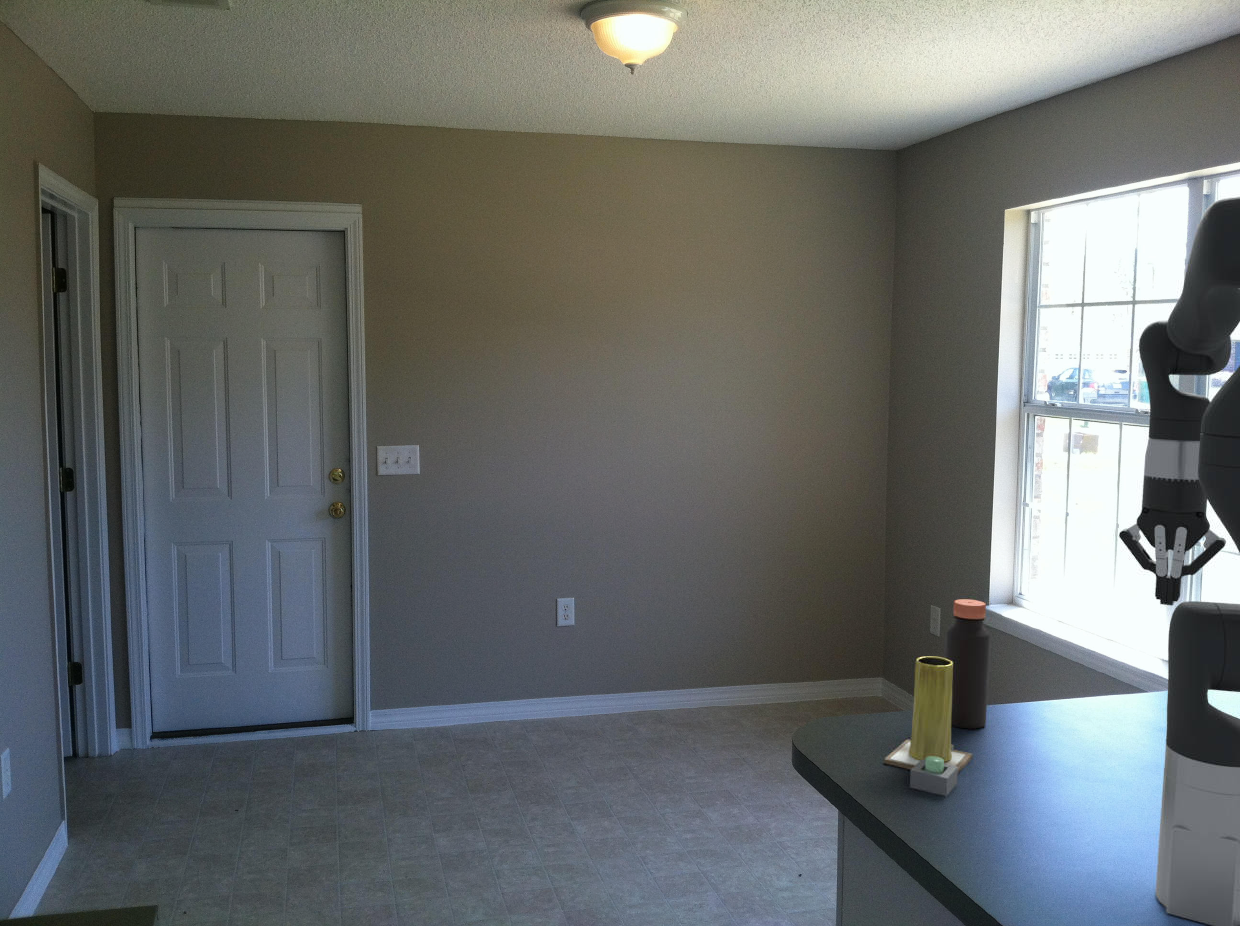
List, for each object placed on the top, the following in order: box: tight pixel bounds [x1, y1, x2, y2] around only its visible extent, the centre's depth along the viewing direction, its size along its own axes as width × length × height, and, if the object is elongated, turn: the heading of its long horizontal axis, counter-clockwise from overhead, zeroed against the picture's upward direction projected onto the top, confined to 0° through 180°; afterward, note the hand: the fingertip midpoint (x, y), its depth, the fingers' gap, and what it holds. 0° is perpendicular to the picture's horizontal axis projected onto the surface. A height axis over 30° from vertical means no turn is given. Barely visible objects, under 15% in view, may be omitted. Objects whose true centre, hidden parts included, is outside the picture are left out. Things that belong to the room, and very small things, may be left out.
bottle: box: [944, 598, 991, 730], centre depth 170 cm, size 7×7×20 cm
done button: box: [925, 756, 944, 774], centre depth 144 cm, size 2×2×3 cm
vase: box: [909, 655, 953, 762], centre depth 153 cm, size 6×6×14 cm
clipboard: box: [883, 739, 974, 774], centre depth 154 cm, size 10×10×1 cm
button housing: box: [909, 759, 959, 797], centre depth 144 cm, size 5×5×2 cm
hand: (1167, 603), depth 138 cm, fingers closed
